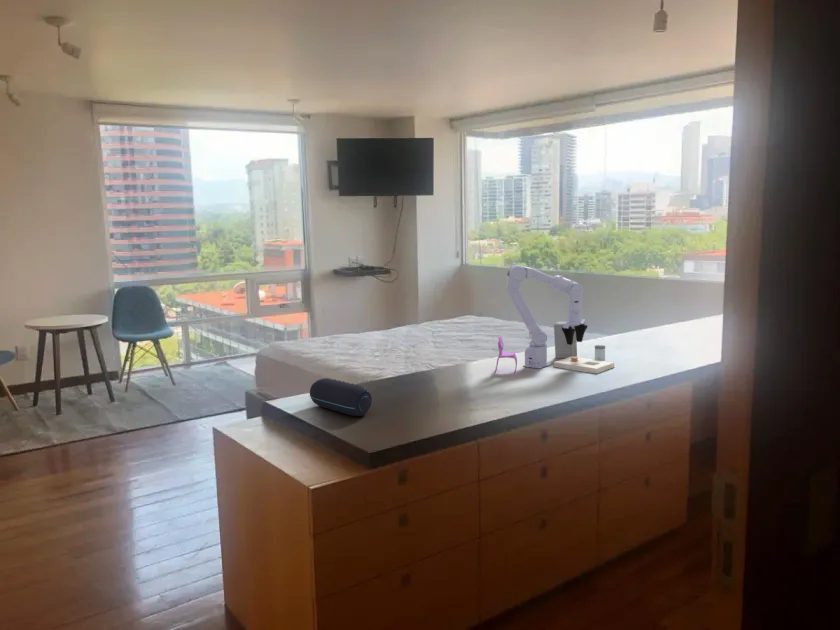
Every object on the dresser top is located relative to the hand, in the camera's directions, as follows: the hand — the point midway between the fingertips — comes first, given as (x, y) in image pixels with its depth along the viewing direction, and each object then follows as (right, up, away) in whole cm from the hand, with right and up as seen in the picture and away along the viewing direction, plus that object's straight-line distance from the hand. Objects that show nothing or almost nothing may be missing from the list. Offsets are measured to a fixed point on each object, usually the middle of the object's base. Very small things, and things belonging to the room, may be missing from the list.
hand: (574, 343), depth 275 cm
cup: (+12, -8, +5) cm, 15 cm away
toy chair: (-30, -12, -7) cm, 33 cm away
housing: (+3, -10, -3) cm, 11 cm away
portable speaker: (-92, -21, -55) cm, 109 cm away
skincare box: (0, -7, +17) cm, 18 cm away
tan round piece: (0, -9, 0) cm, 9 cm away
